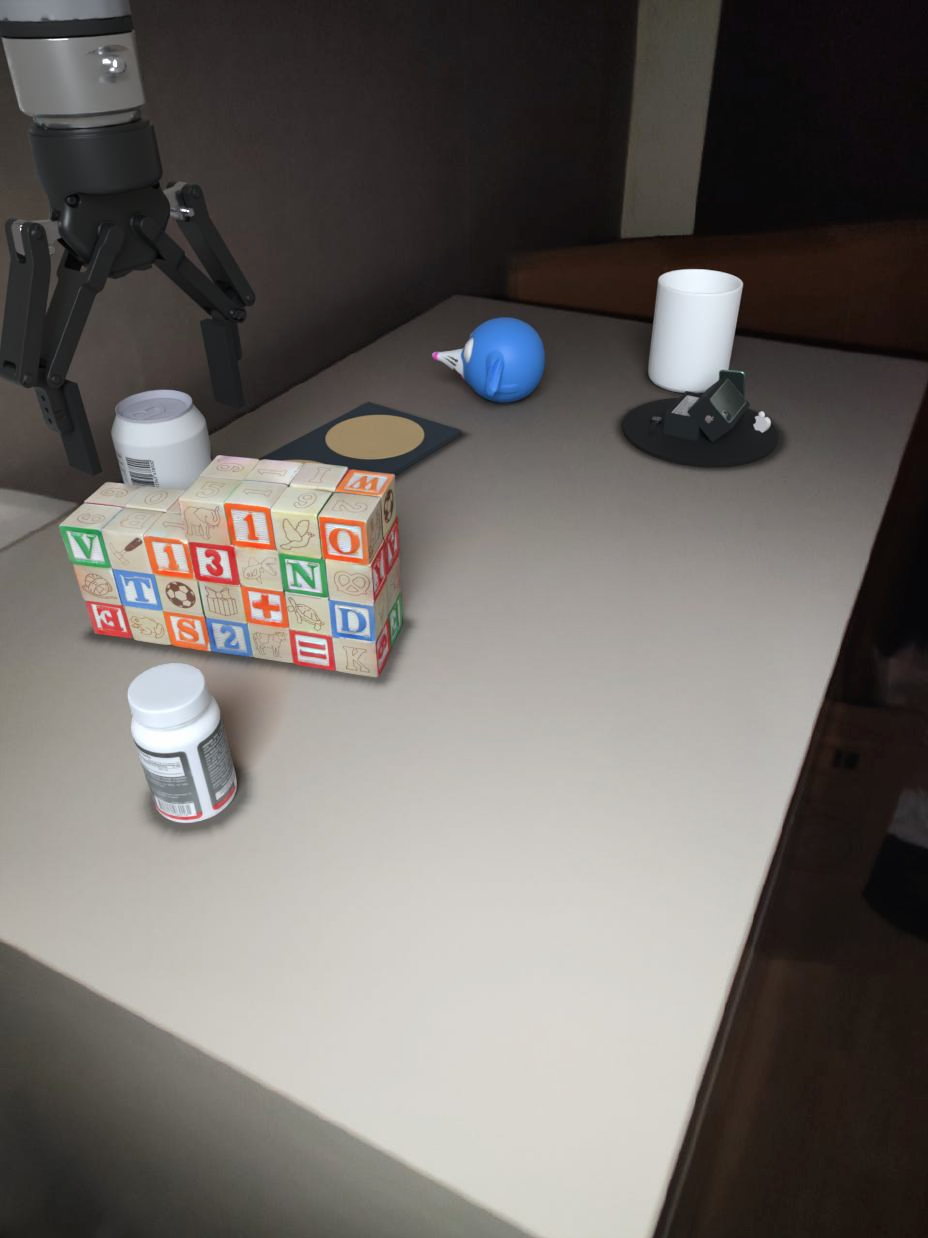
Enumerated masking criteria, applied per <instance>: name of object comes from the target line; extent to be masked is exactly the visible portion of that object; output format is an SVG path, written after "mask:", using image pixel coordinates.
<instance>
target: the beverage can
mask: <svg viewBox="0 0 928 1238" xmlns="http://www.w3.org/2000/svg"><path fill="white" fill-rule="evenodd" d="M114 412H115V417H114V420H113V423H112V427H111V429H110V430H111V431H110V435H111V439H112V443H113V447H114V451H115V454H116V459H117V462H118V465H119V469H120V474H121V477H122V481H123V484H130V485H139V486H144V487H146V486H152V487H160V488H168V489H178V490H185V491H186V490H187V489H188V488H189V487H190V486H191V485H192V484H193V483H194V482H195V481H196V480H197V479H198V478H199V475H200V474H201V473H202V472H203V471H204V470H205V469H206V468H207V467H208V465H209V464H210V463H211V462H212V461H213V460H214V456H213V455H214V454H213V452H212V446H211V439H210V436H209V430H208V425H207V420H206V418H205V416H204V414H203V413H202V412H201V411H200V410H199V409H198V408H197V406H196V405H195V404H194V403H193V399H192V397H191V396H190V394H188V393H187V392H183V391H181V390H174V389H153V390H147V391H146V390H145V391H142V392H138V393H134V394H132V395H129V396H127V397H125V398H123V399H122V400H120V401H119V402H118V403H117V404H116V405H115V408H114Z"/></svg>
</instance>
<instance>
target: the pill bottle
mask: <svg viewBox="0 0 928 1238" xmlns="http://www.w3.org/2000/svg"><path fill="white" fill-rule="evenodd" d="M126 693H127V697H126V698H127V701H128V704H129V708H130V714H131V716H132V717H131V722H130V731H131V736H132V740H133V743H134V745H135V749H136V752H137V755H138V757H139V762H140V764H141V768H142V771H143V774H144V776H145V779H146V780H145V781H146V783H147V785H148V788H149V792H150V795H151V797H152V801H153V803H154V806H155V808H156V810H157V811H158V812H159V814H160V815H161V816H163V817H164V818H166V819H168V820H170V821H172V822H175V823H179V824H180V823H182V824H189V823H190V824H191V823H196V822H201V821H205V820H208V819H211V818H213V817H215V816H217V815H218V814H220V813H221V812H222V811H224V810H225V809H226V808H227V807H228V806H229V805H230V803H231V802H232V801H233V799H234V797H235V795H236V793H237V787H238V780H237V775H236V770H235V766H234V762H233V757H232V754H231V749H230V745H229V740H228V738H227V734H226V729H225V725H224V721H223V717H222V712H221V709H220V706H219V704H218V702H217V700H216V699H215V698H214V697H213V695H211V694H210V692H209V687H208V685H207V681H206V677H205V675H204V673H203V672H202V671H201V670H200V669H199V668H198V667H196V666H194V665H191V664H189V663H183V662H168V663H163V664H159V665H155V666H152V667H150V668H148V669H146V670H144V671H143V672H140V674H138V675H137V676H136V677H135V678H134V679H133V680H132V681H131V683H130V684H129V686H128V689H127V692H126Z"/></svg>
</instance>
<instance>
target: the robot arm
mask: <svg viewBox="0 0 928 1238" xmlns="http://www.w3.org/2000/svg"><path fill="white" fill-rule="evenodd" d="M134 29H135V27H134V23H133V18H132V10H131V5H130V0H0V38H1V42H2V45H3V50H4V53H5V58H6V61H7V65H8V69H9V74H10V77H11V81H12V85H13V88H14V93H15V97H16V101H17V104H18V108H19V110H20V111H21V112H22V113H23V114H24V115H26V116H29V117H32V120H33V122H32V123H30V124H29V125H28V129H27V130H26V135H27V139H28V142H29V146H30V150H31V155H32V157H33V161H34V165H35V169H36V172H37V176H38V179H39V183H40V185H41V187H42V189H43V191H44V192H45V195H46V197H47V200H48V202H49V214H48V218H47V219H37V220H36V219H35V220H25V219H22V218H16V217H10V218H7V220H6V221H5V224H4V232H5V233H4V234H5V238H6V242H7V248H8V253H9V257H10V261H9V267H8V268H9V269H8V276H7V277H8V278H7V286H6V295H5V301H4V302H5V303H4V312H3V318H2V319H3V320H2V328H1V336H0V379H2V380H3V381H6V382H9V383H11V384H13V385H17V386H19V387H23V388H26V389H31V388H33V389H34V392H35V395H36V398H37V401H38V405H39V408H40V410H41V413H42V417H43V420H44V424H45V425H46V426H47V428H49V430H51V431H53V432H56V433H59V435H60V438H61V441H62V445H63V448H64V451H65V454H66V458H67V461H68V464H69V467H71V468H74V469H76V470H79V471H81V472H83V473H86V474H88V475H91V476H93V477H95V476H96V475H99V474H101V473H102V472H103V469H102V468H103V467H102V465H101V462H100V457H99V454H98V452H97V451H98V450H97V447H96V444H95V440H94V437H93V433H92V430H91V426H90V423H89V419H88V416H87V412H86V408H85V405H84V402H83V398H82V394H81V391H80V387H79V384H78V382H75V381H73V380H69V379H67V375H68V373H69V369H70V367H71V364H72V361H73V359H74V356H75V354H76V350H77V348H78V345H79V342H80V340H81V337H82V334H83V332H84V329H85V326H86V323H87V321H88V319H89V315H90V312H91V310H92V307H93V305H94V301H95V299H96V296H97V294H99V293H101V292H102V291H103V290H104V288H105V286H106V283H107V281H108V278H109V279H112V280H118V279H121V278H124V277H126V276H127V275H129V274H130V273H131V272H133V271H143V272H144V271H147V270H150V269H153V265H154V266H155V267H157V269H158V270H160V271H161V272H162V273H163V274H164V275H165V276H166V277H167V278H168V279H169V280H171V282H173V283H174V284H175V285H176V286H177V287H178V288H179V289H180V290H181V291H182V292H184V293H185V294H186V296H188V297H189V298H190V299H191V300H192V301H193V302H195V303H196V304H197V306H199V307H200V308H201V309H202V311H204V312H205V313H206V314H207V315H209V316H210V317H211V318H209V317H207V318H204V319H202V320H199V325H200V330H201V335H202V341H203V345H204V352H205V356H206V361H207V367H208V371H209V377H210V382H211V388H212V393H213V398H214V401H215V402H217V403H219V404H223V405H226V406H228V407H232V408H234V409H237V410H239V409H242V408H244V407H246V402H245V395H244V390H243V384H242V379H241V373H240V372H241V371H240V367H239V361H240V360H242V358H243V348H242V344H241V343H242V342H241V337H240V329H239V324H243V323H245V321H246V320H247V316H248V313H247V310H246V307H253V305H254V304H255V302H256V299H257V297H256V294H255V291H254V289H253V288H252V286H251V285H250V283H249V281H248V279H247V277H246V276H245V274H244V272H243V271H242V269H241V268H240V266H239V264H238V263H237V260H236V259H235V257H234V256H233V254H232V253H231V251H230V249H229V247H228V245H227V244H226V242H225V241H224V239H223V237H222V236H221V233H220V232H219V230H218V229H217V227H216V225H215V224H214V222H213V220H212V219H211V217H210V214H209V211H208V206H207V203H206V199H205V195H204V190H203V189H202V187H201V186H200V185H199V184H197V183H189V182H184V181H178V180H170V181H169V182H168V183H167V184H166V188H165V189H162V186H161V184H160V181H161V180H162V177H163V174H164V173H163V172H164V171H163V165H162V160H161V155H160V150H159V144H158V140H157V135H156V130H155V125H154V122H153V121H152V120H150V118H149V116H147V115H145V114H142V112H141V110H142V109H144V108H146V106H147V104H148V103H149V97H148V92H147V87H146V81H145V76H144V72H143V66H142V60H141V56H140V51H139V45H138V40H137V36H136V35H137V34H136V31H135V30H134ZM170 217H171V218H173V219H174V220H175V222H176V225H177V226H178V229H179V230H180V231H181V233H182V234H183V236H184V238H185V240H186V241H187V242H188V245H189V246H190V247H191V249H192V250H193V252H194V254H195V255H196V258H197V259H198V260H199V262H200V263H201V265H202V266H203V268H204V270H205V272H206V273H207V275H208V276H209V277H208V276H207V275H206V274H205V273H204V272H203V271H202V270H201V269H200V268H199V267H198V266H197V265H196V264H195V263H194V262H193V261H191V259H190V258H188V257H187V256H186V251H185V250H184V249H183V248H182V247H181V246H180V245H179V244H178V243H177V242H176V241H175V240H174V239H173V237H171V236H170V235H169V234H168V233H167V232H166V229H167V226H168V223H169V221H170ZM56 242H57V243H58V244H60V245H61V247H62V248H63V249H64V250H63V252H62V255H61V257H60V260H59V263H58V266H57V269H56V278H57V282H56V285H55V287H54V291H53V294H52V297H51V299H50V302H49V305H48V298H49V291H50V285H51V284H50V282H51V275H52V273H51V272H52V261H51V260H52V259H51V257H52V256H53V255H55V254H56V253H57V248H56V246H55V243H56ZM82 268H83V269H85V271H81V270H82ZM47 306H48V307H47Z"/></svg>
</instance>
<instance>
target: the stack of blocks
mask: <svg viewBox="0 0 928 1238" xmlns="http://www.w3.org/2000/svg"><path fill="white" fill-rule="evenodd" d="M258 459H259V458H251V457H241V456H230V455H216V457H215V458H213V461H212V462H211V463H210V464H209V465H208V467H207V468H206V469H205V470H204V471H203V472H202V473H201V474H200V475H199V478H198V479H197V480H196V481H195V482H194V483H193V484H192V485H191V486H190V487H189V488H188V489H187V490H186V491H185V490H178V489H168V488H160V487H152V486H146V487H144V486H139V485H130V484H124V482H122V483H121V482H112V481H107V482H104V484H102V485H101V486H100V487H99V488H97V490H96V491H95V492H93V493H92V494H91V495H90V496H89V497H87V498H86V499H85V500H84V501H83V503H82V504H81V505H80V506H79V507H77V509H75V510H74V511H73V512H72V513H71V514H70V515H69V516H68V517H66V518H65V519H64V520H63V521H62V522H61V523H59V524H58V528H59V531H60V535H61V538H62V541H63V544H64V547H65V550H66V553H67V556H68V560H69V562H70V564H72V566H73V570H74V573H75V577H76V580H77V583H78V587H79V590H80V593H81V597H82V600H84V603H85V607H86V610H87V613H88V614H87V615H88V617H89V620H90V621H89V622H90V623H91V627H92V630H93V632H94V634H96V635H104V636H111V637H118V638H125V639H133V640H135V641H138V642H144V643H151V644H157V645H164V646H173V647H178V648H184V649H191V650H196V651H202V652H214V653H222V654H226V655H227V654H228V655H234V656H240V657H247V658H256V659H262V660H269V661H276V662H280V663H288V664H294V665H297V666H301V667H302V666H303V667H308V668H314V669H321V670H327V671H332V672H333V671H336V672H339V673H344V674H350V675H357V676H363V677H371V678H379V676H380V674H381V672H382V670H383V668H384V666H385V664H386V662H387V660H388V657H389V655H390V652H391V649H392V647H393V645H394V643H395V641H396V639H397V638H398V637H397V636H398V635H399V633H400V630H401V628H402V626H403V605H402V604H403V603H402V591H401V568H400V565H401V564H400V537H399V534H400V533H399V516H398V513H397V512H398V511H397V487H396V476H395V475H394V474H388V473H378V472H369V471H361V470H349V469H348V467H345V466H336V465H327V464H317V463H305V464H302V463H298V462H286V461H276V460H266V459H265V460H258Z"/></svg>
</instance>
